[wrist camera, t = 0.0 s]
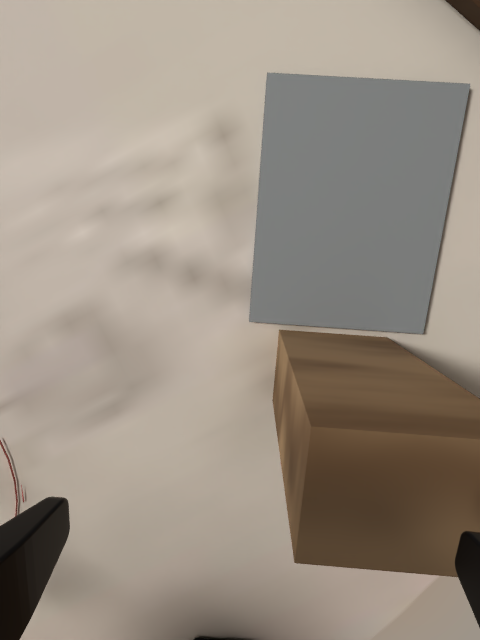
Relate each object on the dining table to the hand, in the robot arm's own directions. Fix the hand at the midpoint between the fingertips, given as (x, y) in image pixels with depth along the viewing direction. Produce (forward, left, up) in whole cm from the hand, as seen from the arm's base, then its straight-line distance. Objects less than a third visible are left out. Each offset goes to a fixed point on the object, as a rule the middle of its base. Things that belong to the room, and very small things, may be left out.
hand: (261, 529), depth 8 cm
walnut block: (-1, -5, -15) cm, 16 cm away
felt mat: (+9, -5, -15) cm, 18 cm away
